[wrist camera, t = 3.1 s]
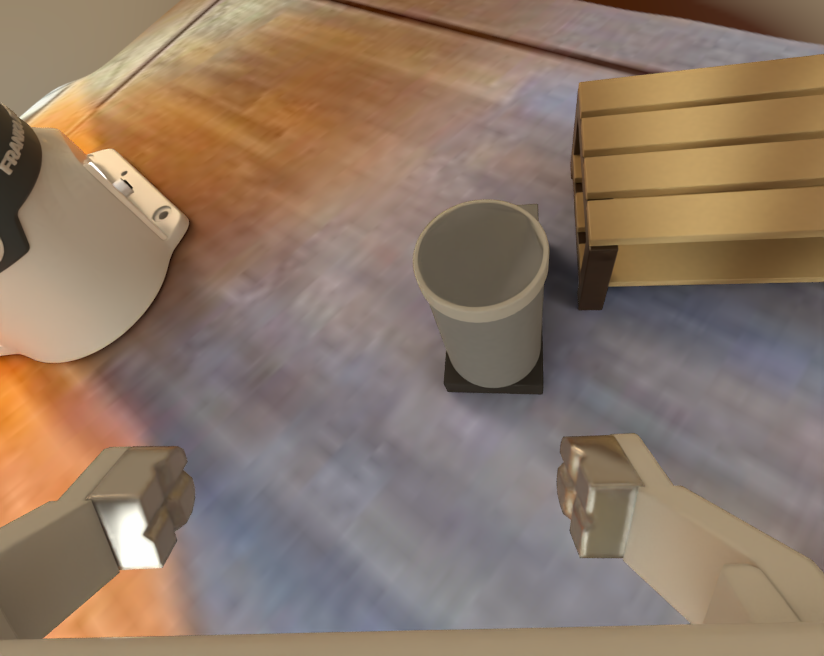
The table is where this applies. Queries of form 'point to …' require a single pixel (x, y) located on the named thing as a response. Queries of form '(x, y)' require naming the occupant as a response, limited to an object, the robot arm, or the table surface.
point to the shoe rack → (700, 177)
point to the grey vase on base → (487, 294)
